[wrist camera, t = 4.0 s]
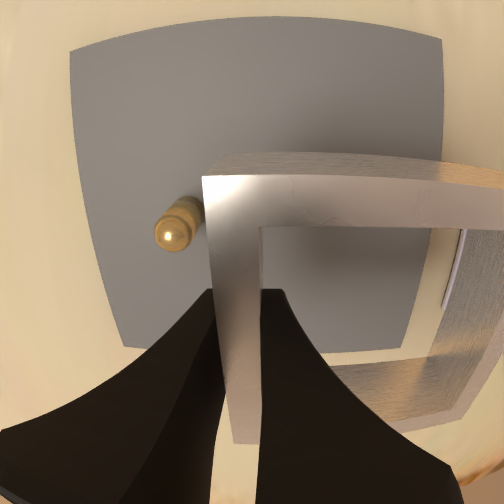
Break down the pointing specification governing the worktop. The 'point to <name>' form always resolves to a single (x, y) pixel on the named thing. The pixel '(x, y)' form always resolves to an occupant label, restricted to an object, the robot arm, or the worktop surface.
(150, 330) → the board
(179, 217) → the post
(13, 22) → the worktop surface
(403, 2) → the worktop surface
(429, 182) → the square storage bin
